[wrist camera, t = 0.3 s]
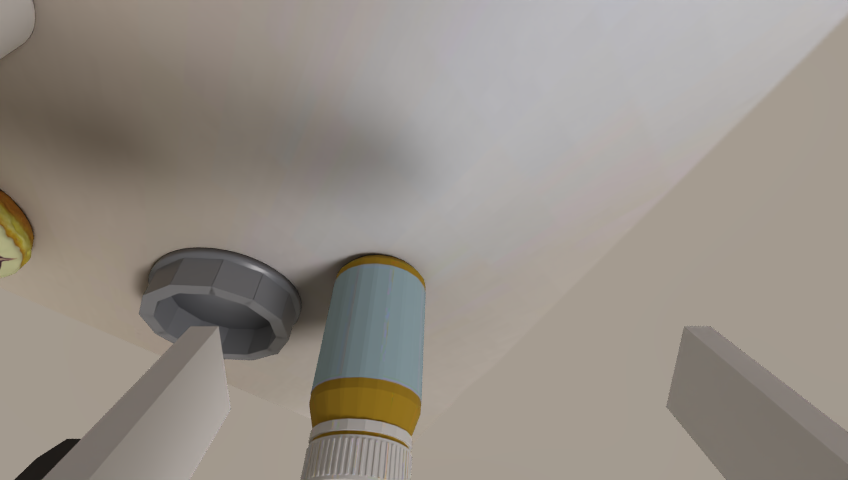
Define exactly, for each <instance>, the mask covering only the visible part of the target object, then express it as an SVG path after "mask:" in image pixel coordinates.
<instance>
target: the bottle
mask: <svg viewBox="0 0 848 480" xmlns="http://www.w3.org/2000/svg"><path fill="white" fill-rule="evenodd" d="M425 294H426V293H425V283H424V279H423V278H422V276H421V275H420V274H419V273H418V271H416V270H415V269H414V268H413V267H412V266H411V265H409V264H408V263H406V262H405V261H403V260H400V259H397V258H395V257H392V256H384V255H368V256H364V257H361V258H357V259H355V260H353V261H351V262H350V263H348V264H347V265H345V266H344V267H342V268H341V269H340V271H339V272H338V274H337V276H336V281H335V284H334V288H333V293H332V298H331V302H330V307H329V312H328V316H327V321H326V326H325V330H324V335H323V340H322V344H321V349H320V354H319V358H318V363H317V368H316V372H315V377H314V382H313V386H312V391H311V398H310V413H311V421H312V430H311V433H310V438H309V447H308V448H307V451H306V456H305V461H304V466H303V471H302V475H301V480H411V463H412V457H411V450H412V434H413V432H414V429H415V426H416V424H417V421H418V419H419V416H420V410H421V396H422V370H423V345H424V319H425Z"/></svg>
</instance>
